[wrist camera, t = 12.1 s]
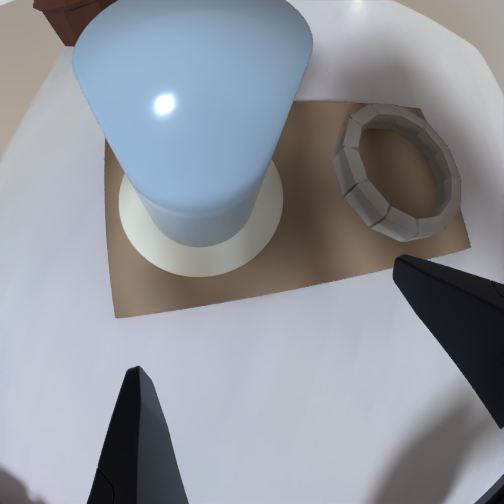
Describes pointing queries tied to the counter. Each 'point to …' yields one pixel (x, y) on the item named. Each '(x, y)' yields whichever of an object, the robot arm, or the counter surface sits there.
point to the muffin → (71, 16)
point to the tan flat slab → (300, 213)
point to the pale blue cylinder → (194, 103)
